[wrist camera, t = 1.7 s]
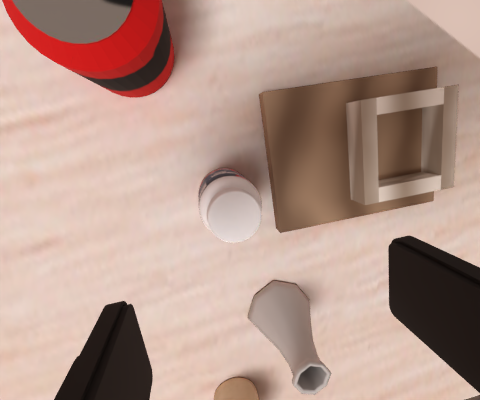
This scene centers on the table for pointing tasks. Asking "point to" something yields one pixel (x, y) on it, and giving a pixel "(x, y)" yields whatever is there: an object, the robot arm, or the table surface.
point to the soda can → (101, 40)
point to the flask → (290, 333)
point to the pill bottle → (229, 205)
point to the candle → (236, 390)
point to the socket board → (358, 146)
